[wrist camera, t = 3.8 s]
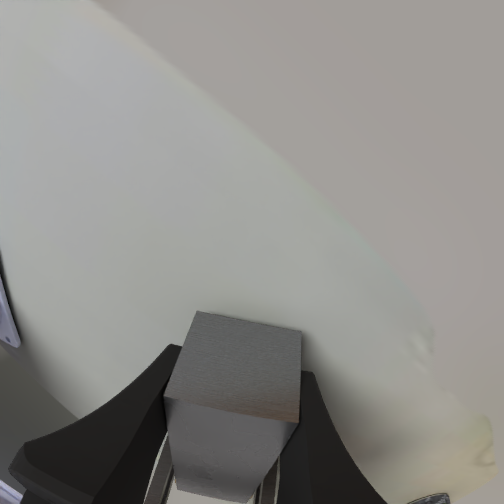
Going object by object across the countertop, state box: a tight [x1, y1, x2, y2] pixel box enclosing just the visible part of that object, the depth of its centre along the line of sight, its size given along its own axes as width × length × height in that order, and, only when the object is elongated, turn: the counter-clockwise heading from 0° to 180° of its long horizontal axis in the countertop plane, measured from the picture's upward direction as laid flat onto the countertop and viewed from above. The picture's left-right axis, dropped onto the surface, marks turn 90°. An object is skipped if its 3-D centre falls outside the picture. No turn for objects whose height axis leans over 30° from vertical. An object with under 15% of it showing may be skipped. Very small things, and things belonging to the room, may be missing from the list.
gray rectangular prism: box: [164, 311, 301, 503], centre depth 13 cm, size 4×11×4 cm, turn 171°
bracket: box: [144, 436, 278, 504], centre depth 15 cm, size 7×1×6 cm, turn 81°
